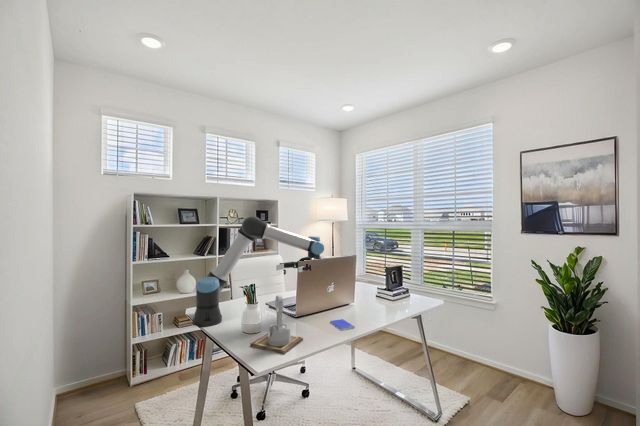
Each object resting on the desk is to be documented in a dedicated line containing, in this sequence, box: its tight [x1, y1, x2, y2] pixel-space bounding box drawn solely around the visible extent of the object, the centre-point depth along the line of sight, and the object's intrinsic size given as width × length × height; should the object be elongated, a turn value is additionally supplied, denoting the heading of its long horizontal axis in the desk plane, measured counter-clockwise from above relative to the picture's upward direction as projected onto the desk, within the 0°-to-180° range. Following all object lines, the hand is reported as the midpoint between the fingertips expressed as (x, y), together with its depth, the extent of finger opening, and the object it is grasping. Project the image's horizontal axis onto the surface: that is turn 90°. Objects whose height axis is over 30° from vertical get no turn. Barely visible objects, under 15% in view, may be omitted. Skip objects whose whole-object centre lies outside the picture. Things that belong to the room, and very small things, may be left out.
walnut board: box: [249, 332, 304, 355], centre depth 140 cm, size 18×16×1 cm
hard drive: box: [329, 318, 356, 331], centre depth 164 cm, size 2×8×12 cm
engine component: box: [268, 294, 291, 346], centre depth 140 cm, size 11×20×10 cm
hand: (287, 268), depth 164 cm, fingers open, 13 cm apart
